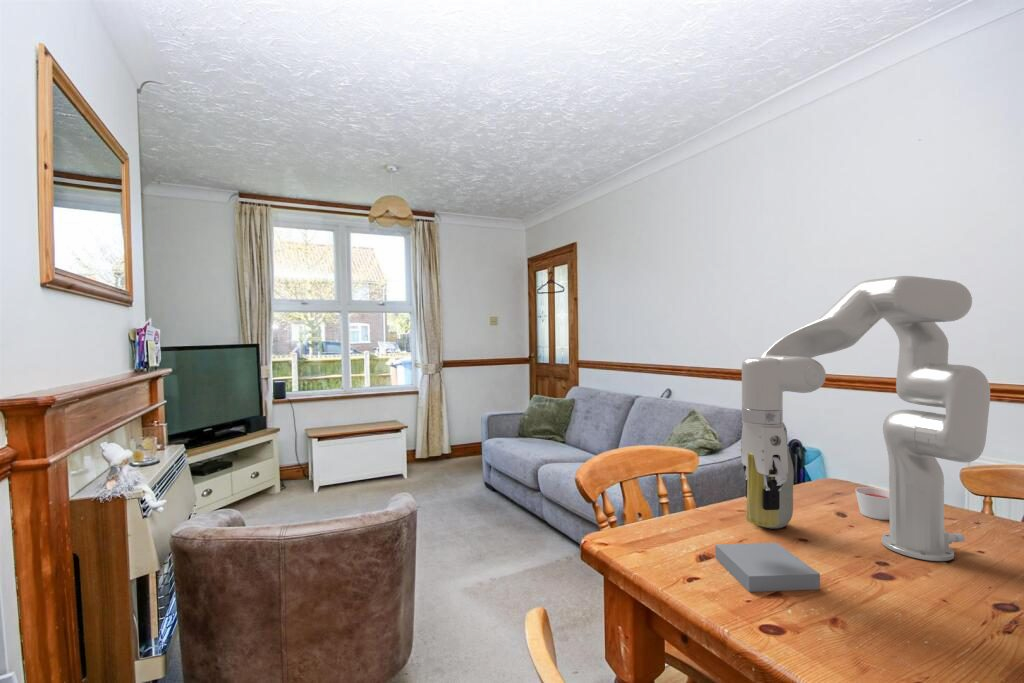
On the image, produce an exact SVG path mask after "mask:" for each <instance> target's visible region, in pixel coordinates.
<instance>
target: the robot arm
mask: <svg viewBox="0 0 1024 683" xmlns="http://www.w3.org/2000/svg"><path fill="white" fill-rule="evenodd" d="M972 304H973V297H972V294H971V291H969V289H968V287H967V286H965V285H964V284H963V283H960V282H958V281H955V280H951V279H942V278H934V277H923V276H915V275H914V276H912V275H899V276H891V277H884V278H883V277H882V278H875V279H874V278H873V279H868V280H864V281H861V282H858V283H857V284H855V285H854V286H852V287H851V288H850V289H849V290H847V291H846V292H845V294H844V295H843V296H841V297H840V298H839V299H838V300H837V301H836V302H835V303H834V304H833V305H832V306H831V307H829V309H828V310H827V311H826V312H824V314H823V315H821V316H820V317H819V318H818V319H816V320H814V321H812V322H809V323H807V324H805V325H804V326H802V327H800V328H798V329H796V330H793V331H792V332H790V333H788V334H786V335H784V336H783V337H781V338H780V339H779V340H777V341H775V342H774V343H773V344H772V345H771V346H770V347H768V349H767V350H765V352H764V353H763V354H762V355H761V356H760V357H747V358H745V359H744V360H743V361H742V363H741V423H742V429H741V438H740V439H741V440H740V462H741V464H742V468H743V470H744V479H745V499H747V477H748V452H749V453H751V454H753V455H754V461H755V467H756V471H757V472H758V473H760V474H762V476H763V482H764V487H765V489H762V494H763V509H764V510H779V508H780V491H781V487H782V485H783V483H784V482H785V481H787V476H786V475H787V474H788V454H787V445H788V442H787V443H786V436H785V431H784V427H782V426H783V423H784V422H783V421H784V418H783V417H784V410H783V406H784V405H783V404H784V402H783V401H784V400H783V398H784V397H783V396H784V394H783V393H784V392H790V393H791V392H792V393H798V394H808V393H813V392H815V391H817V390H819V389H820V388H821V387H822V386H824V383H825V381H826V379H827V378H826V377H827V376H826V374H827V373H826V370H825V368H824V366H823V365H822V364H821V362H819V361H818V360H816V359H815V358H816V357H819V356H823V355H826V354H832V353H836V352H838V351H842V350H845V349H848V348H850V347H852V346H854V345H855V344H857V343H858V342H859V340H861V339H862V338H863V337H864V336H865V335H866V334H867V333H868V332H869V331H870V330H871V329H872V328H873V327H874V326H875V325H876V324H877V323H879V321H881V319H883V320H885V321H886V322H887V323H888V325H889V326H890V327H891V328H892V329H893V331H894V332H895V334H896V336H897V339H898V344H899V345H898V347H899V348H898V350H899V351H898V360H897V361H898V362H897V368H896V369H897V371H896V373H897V374H896V383H895V390H896V394H897V396H898V398H900V399H901V400H902V401H904V402H906V403H910V404H912V405H913V404H914V405H919V406H926V407H934V408H943V409H945V414H944V413H937V412H932V411H931V412H930V411H924V410H916V409H899V410H894V411H892V412H891V413H888V415H887V416H885V419H884V421H883V423H882V424H883V425H882V432H883V433H882V434H883V438H884V442H885V446H886V451H887V458H888V469H889V470H888V491H889V515H890V519H889V533H885V534H883V535H881V539H880V540H881V543H882V545H883V546H884V547H885V548H887V549H889V550H890V551H893V552H895V553H896V554H897V553H898V554H900V555H902V556H906V557H910V558H913V559H917V560H923V561H930V562H947V561H951V560H953V559H954V557H955V551H954V550H953V548H951V547H950V544H952V543H964V542H965V541H966V537H965V535H963V533H961V532H952V533H949V532H948V531H947V530H945V478H944V472H943V469H942V467H941V465H940V464H939V461H938V460H937V459H941V460H946V461H951V462H956V463H967V464H968V463H971V462H975V461H976V460H977V459H979V458H980V457H981V455H982V454H983V452H984V450H985V447H986V441H987V434H988V433H987V431H988V423H989V414H990V405H991V404H990V403H991V386H990V383H989V380H988V378H987V377H986V375H985V374H984V373H983V371H982V370H980V369H978V368H976V367H973V366H971V365H963V364H949V347H950V346H949V345H950V344H949V341H948V337H947V335H946V334H945V332H944V331H943V330H942V328H941V326H939V325H938V324H937V323H947V322H948V323H949V322H955V321H958V320H961V319H962V318H964V317H965V316H966V315H967V314H968V313H969V311H970V310H971V308H972ZM813 358H814V359H813ZM769 471H773V474H769ZM770 477H773V478H774V479H772V480H771V482H770V483H769V478H770Z"/></svg>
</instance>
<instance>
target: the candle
mask: <svg viewBox="0 0 1024 683" xmlns="http://www.w3.org/2000/svg"><path fill="white" fill-rule="evenodd" d="M855 495H856V499H857V505H858V509H859V512H860V514H861V515H862V516H864V517H867V518H870V519H874V520H880V521H881V520H882V521H888V520H889V521H890V515H889V489H885V488H879V487H873V486H872V487H870V486H869V487H868V486H861V487H856V488H855Z"/></svg>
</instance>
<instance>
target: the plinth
mask: <svg viewBox="0 0 1024 683" xmlns="http://www.w3.org/2000/svg"><path fill="white" fill-rule="evenodd" d="M714 548H715V550H714V551H715V554H714V555H715V559H716V560H717V561H718V562H719V563H720V564H721V566H723V567H724V569H726V571H728V572H729V574H731V576H733V578H734V579H736V581H738V582H739V583H740V584H741V585H742V586H743V587H744V588H745V589H746V590H747V591H748V592H750V593H753V592H755V593H757V592H779V591H780V592H781V591H782V592H783V591H785V592H786V591H806V590H807V591H811V590H821V574H820V573H819V572H818V571H816V570H815V569H814V568H812V567H811V566H810V565H808V563H806V562H804V561H803V560H801V559H800V558H799V557H798V556H796V555H794V553H792V552H790V551H789V550H788V549H786V548H785V547H783V546H782V545H781V544H779V542H760V543H759V542H757V543H753V542H752V543H729V544H728V543H727V544H725V543H724V544H722V543H721V544H715V547H714Z"/></svg>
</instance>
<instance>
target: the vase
mask: <svg viewBox="0 0 1024 683" xmlns="http://www.w3.org/2000/svg"><path fill="white" fill-rule="evenodd" d="M769 474H773V471H769ZM772 479H774V478H773V477H770V478H769V483H770V482H771V480H772ZM762 489H765V487H764V482H763V476H762V474H760V473H758V472H757V471H756V467H755V461H754V455H753V454H751V453H749V452H748V477H747V498H746V514H745V520H746V521H747V522H748V523H750V524H753V525H755V526H758V527H759V526H760V527H763V526H764V527H763V528H766V527H774V526H777V525H778V524H779V519H778V510H764V509H763V494H762Z"/></svg>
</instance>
